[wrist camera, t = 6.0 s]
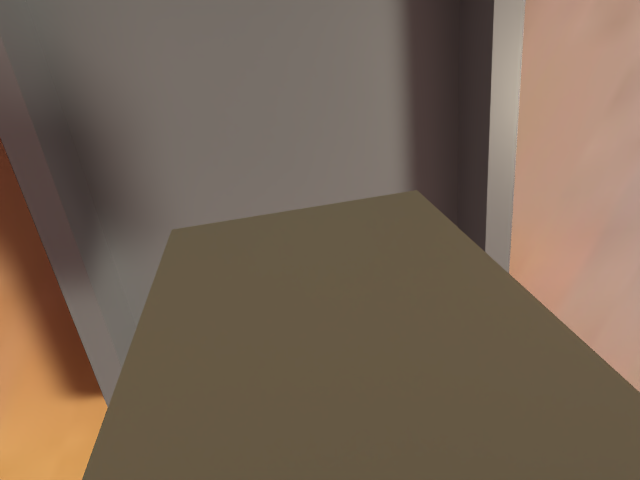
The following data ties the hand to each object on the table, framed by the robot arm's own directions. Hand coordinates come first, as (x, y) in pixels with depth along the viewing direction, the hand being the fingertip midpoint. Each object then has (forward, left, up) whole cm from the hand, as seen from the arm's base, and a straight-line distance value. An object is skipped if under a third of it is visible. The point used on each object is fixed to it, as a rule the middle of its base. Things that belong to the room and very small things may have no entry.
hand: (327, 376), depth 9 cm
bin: (0, 0, -12) cm, 12 cm away
